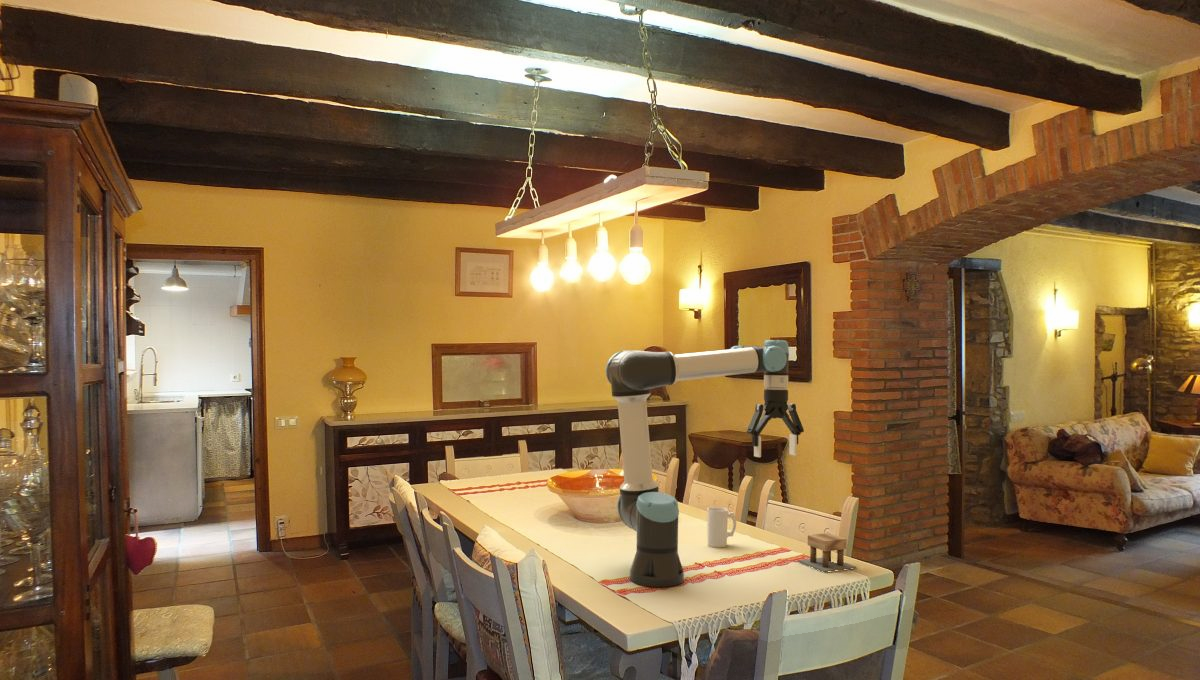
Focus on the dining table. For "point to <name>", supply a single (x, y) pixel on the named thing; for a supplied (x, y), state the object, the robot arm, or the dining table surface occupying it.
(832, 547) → the stool
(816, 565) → the mat
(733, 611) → the dining table surface
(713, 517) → the mug
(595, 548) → the dining table surface
